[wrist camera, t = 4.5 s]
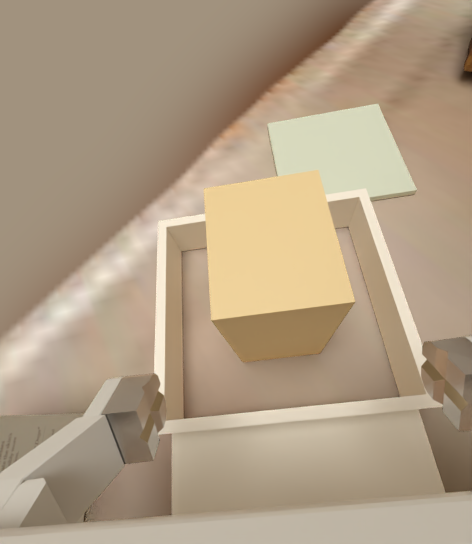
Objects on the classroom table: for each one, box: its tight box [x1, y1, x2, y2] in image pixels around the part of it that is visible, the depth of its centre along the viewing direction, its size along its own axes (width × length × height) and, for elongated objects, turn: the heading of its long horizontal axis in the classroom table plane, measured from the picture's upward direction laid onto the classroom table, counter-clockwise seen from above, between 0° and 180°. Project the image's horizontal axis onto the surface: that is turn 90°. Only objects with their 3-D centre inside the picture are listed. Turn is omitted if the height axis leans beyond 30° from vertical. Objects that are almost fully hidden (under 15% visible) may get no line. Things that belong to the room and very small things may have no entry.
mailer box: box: [154, 188, 446, 515], centre depth 16 cm, size 14×26×4 cm, turn 5°
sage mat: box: [267, 104, 417, 201], centre depth 25 cm, size 10×10×1 cm
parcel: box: [204, 170, 355, 362], centre depth 16 cm, size 5×6×10 cm
